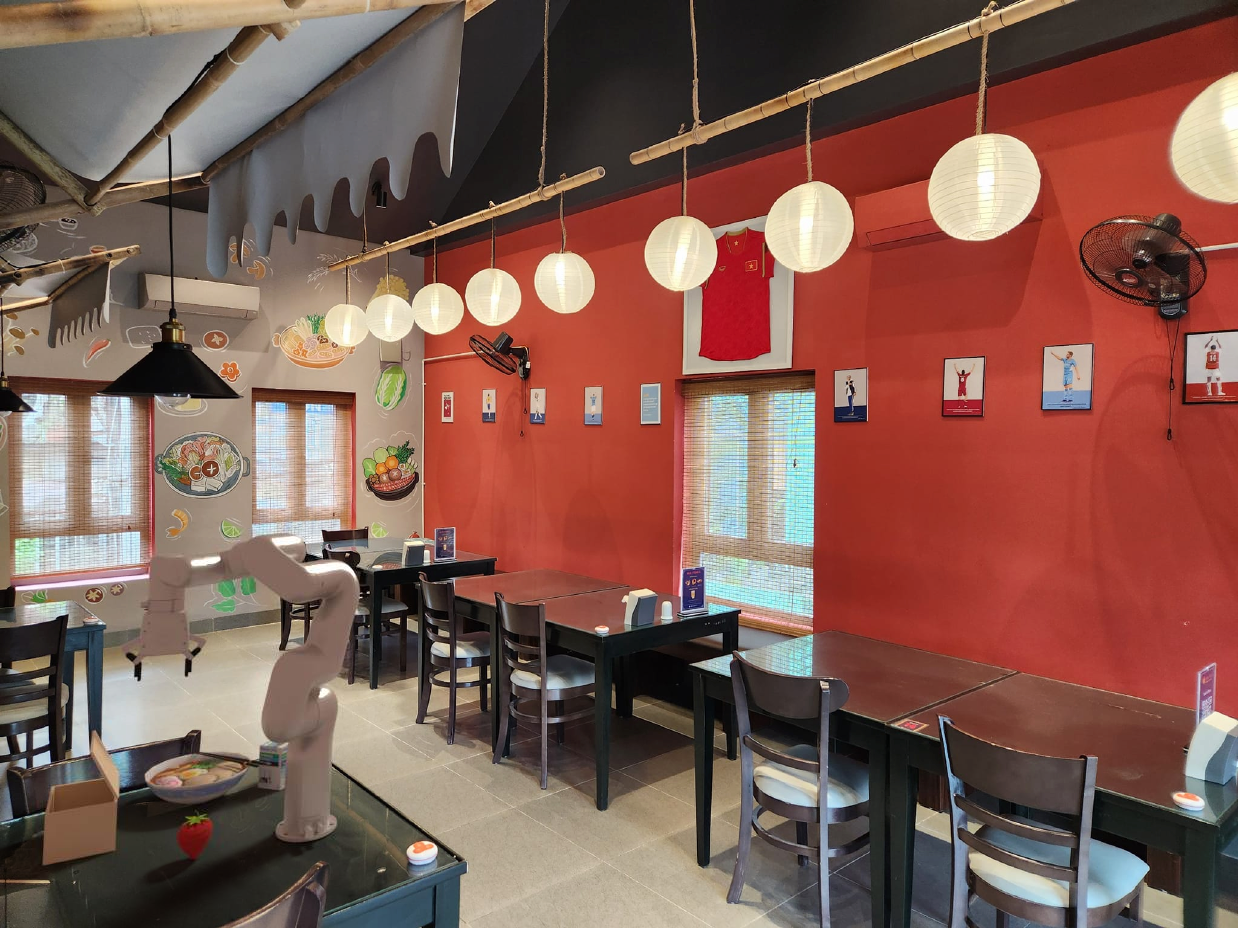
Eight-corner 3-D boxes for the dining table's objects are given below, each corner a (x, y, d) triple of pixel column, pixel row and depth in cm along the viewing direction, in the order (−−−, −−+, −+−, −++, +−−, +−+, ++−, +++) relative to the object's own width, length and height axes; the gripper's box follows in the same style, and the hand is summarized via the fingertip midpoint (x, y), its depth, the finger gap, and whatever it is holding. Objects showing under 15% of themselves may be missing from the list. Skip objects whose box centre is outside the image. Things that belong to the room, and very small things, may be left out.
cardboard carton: (115, 850, 156) (117, 801, 156) (42, 865, 149) (44, 814, 149) (116, 820, 169) (117, 775, 169) (49, 832, 162) (51, 786, 163)
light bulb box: (280, 791, 187) (282, 747, 187) (256, 788, 188) (258, 745, 188) (306, 774, 197) (307, 733, 198) (283, 772, 199) (285, 731, 199)
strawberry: (167, 867, 150) (169, 816, 150) (192, 848, 157) (194, 800, 157) (195, 869, 149) (197, 818, 149) (219, 850, 157) (221, 802, 157)
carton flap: (116, 799, 156) (118, 797, 156) (89, 753, 154) (92, 751, 154) (116, 773, 169) (119, 772, 169) (92, 730, 167) (95, 729, 167)
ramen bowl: (116, 807, 176) (117, 772, 176) (203, 773, 197) (204, 741, 197) (192, 828, 166) (193, 791, 166) (274, 790, 187) (276, 757, 188)
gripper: (122, 610, 171) (118, 685, 171) (208, 606, 180) (205, 677, 180) (123, 605, 178) (120, 677, 177) (206, 601, 186) (203, 670, 186)
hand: (163, 677), depth 178 cm, fingers open, 9 cm apart
